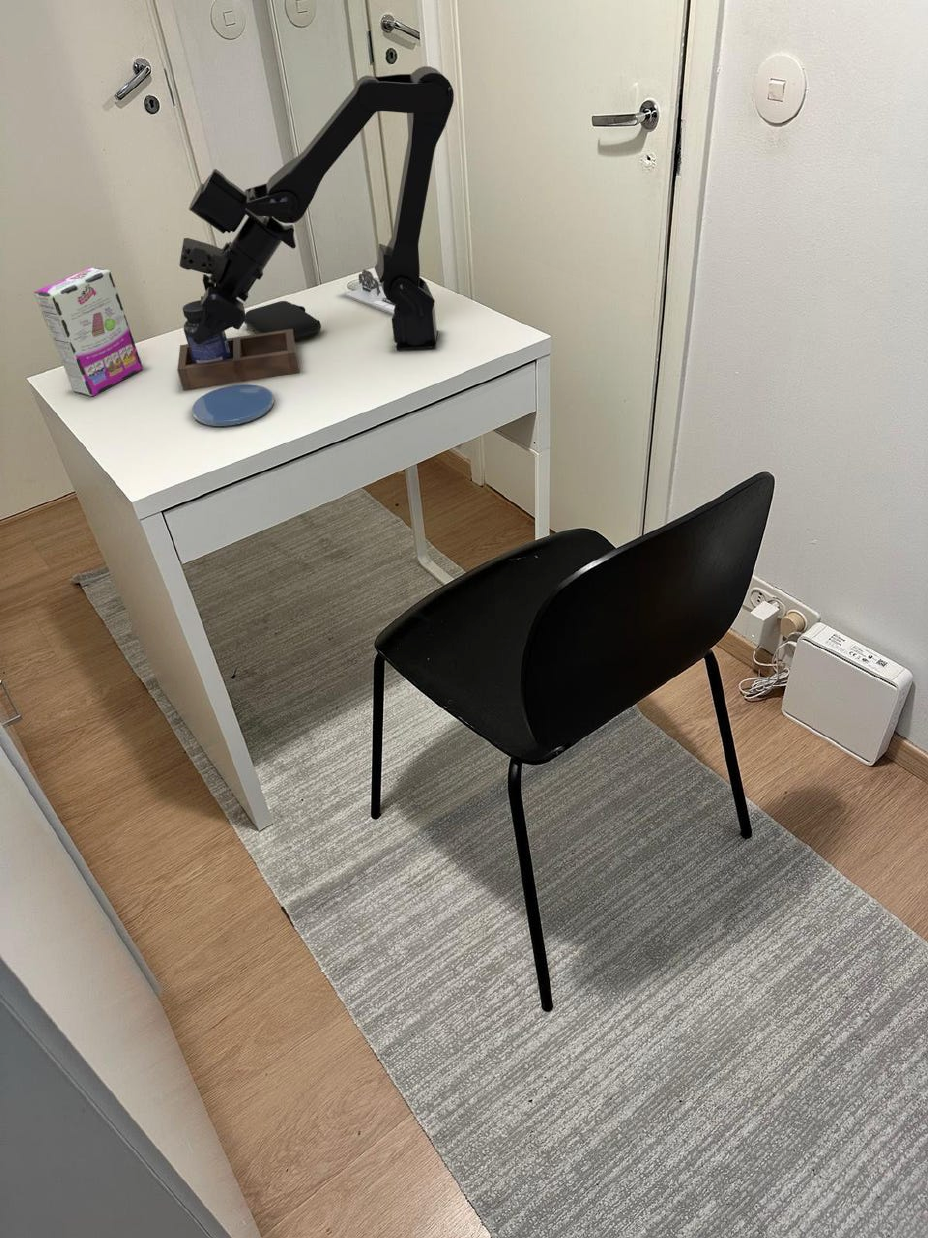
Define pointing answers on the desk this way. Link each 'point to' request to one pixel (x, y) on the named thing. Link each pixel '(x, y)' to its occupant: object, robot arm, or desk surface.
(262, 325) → the carrying case
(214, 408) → the plate
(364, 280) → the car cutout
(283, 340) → the rack
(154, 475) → the desk surface
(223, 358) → the pill bottle
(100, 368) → the candy bar box
